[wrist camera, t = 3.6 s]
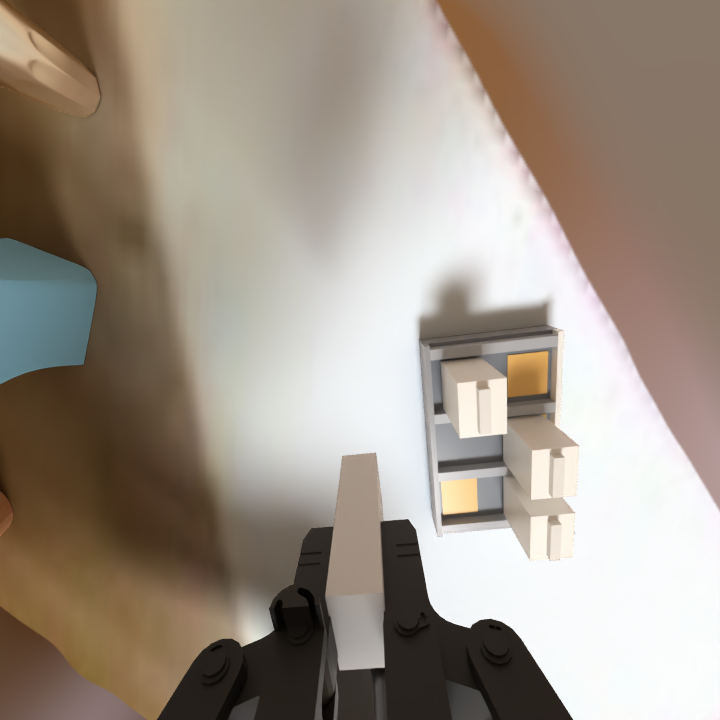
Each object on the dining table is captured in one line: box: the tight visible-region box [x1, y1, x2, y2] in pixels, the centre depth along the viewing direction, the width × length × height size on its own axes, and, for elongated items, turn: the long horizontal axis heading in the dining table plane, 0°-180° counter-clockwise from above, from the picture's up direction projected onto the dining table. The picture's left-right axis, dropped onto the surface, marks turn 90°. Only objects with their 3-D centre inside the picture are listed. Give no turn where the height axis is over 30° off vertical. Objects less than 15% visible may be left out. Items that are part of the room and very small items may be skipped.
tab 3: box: [503, 475, 575, 561], centre depth 26 cm, size 3×4×5 cm
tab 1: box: [441, 357, 507, 439], centre depth 23 cm, size 3×4×5 cm
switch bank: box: [419, 325, 564, 537], centre depth 28 cm, size 10×17×2 cm, turn 7°
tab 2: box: [503, 414, 579, 500], centre depth 24 cm, size 3×4×5 cm
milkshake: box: [0, 0, 101, 118], centre depth 18 cm, size 4×5×10 cm
